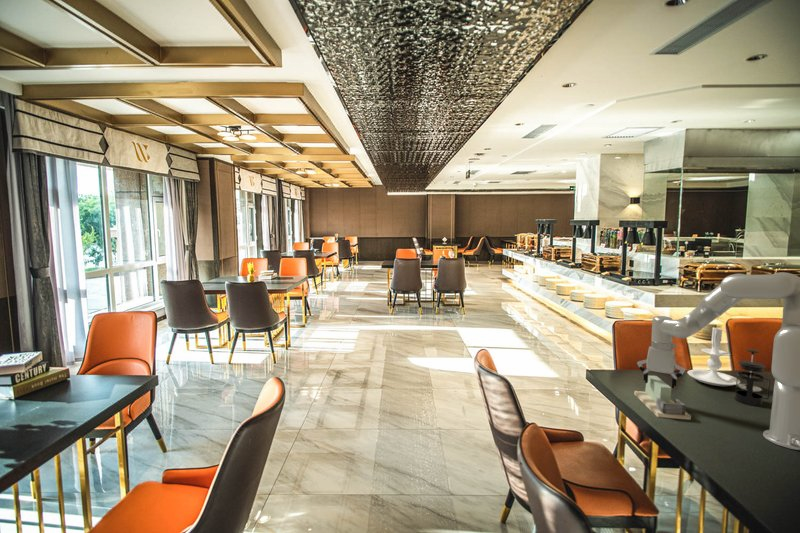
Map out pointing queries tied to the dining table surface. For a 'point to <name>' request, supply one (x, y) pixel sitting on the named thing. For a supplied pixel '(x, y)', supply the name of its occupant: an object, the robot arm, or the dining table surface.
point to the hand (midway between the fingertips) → (659, 384)
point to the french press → (750, 383)
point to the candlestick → (714, 364)
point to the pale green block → (658, 389)
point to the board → (664, 407)
